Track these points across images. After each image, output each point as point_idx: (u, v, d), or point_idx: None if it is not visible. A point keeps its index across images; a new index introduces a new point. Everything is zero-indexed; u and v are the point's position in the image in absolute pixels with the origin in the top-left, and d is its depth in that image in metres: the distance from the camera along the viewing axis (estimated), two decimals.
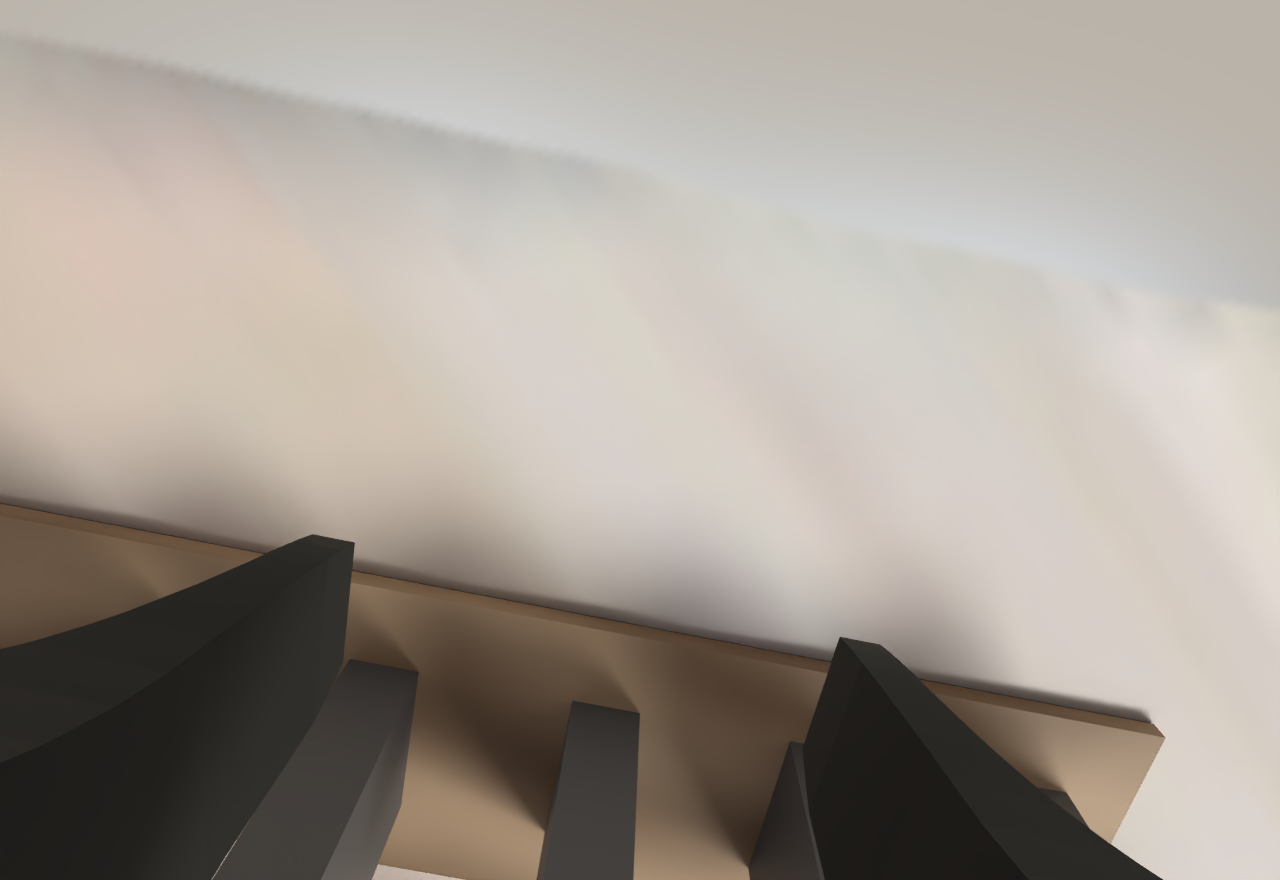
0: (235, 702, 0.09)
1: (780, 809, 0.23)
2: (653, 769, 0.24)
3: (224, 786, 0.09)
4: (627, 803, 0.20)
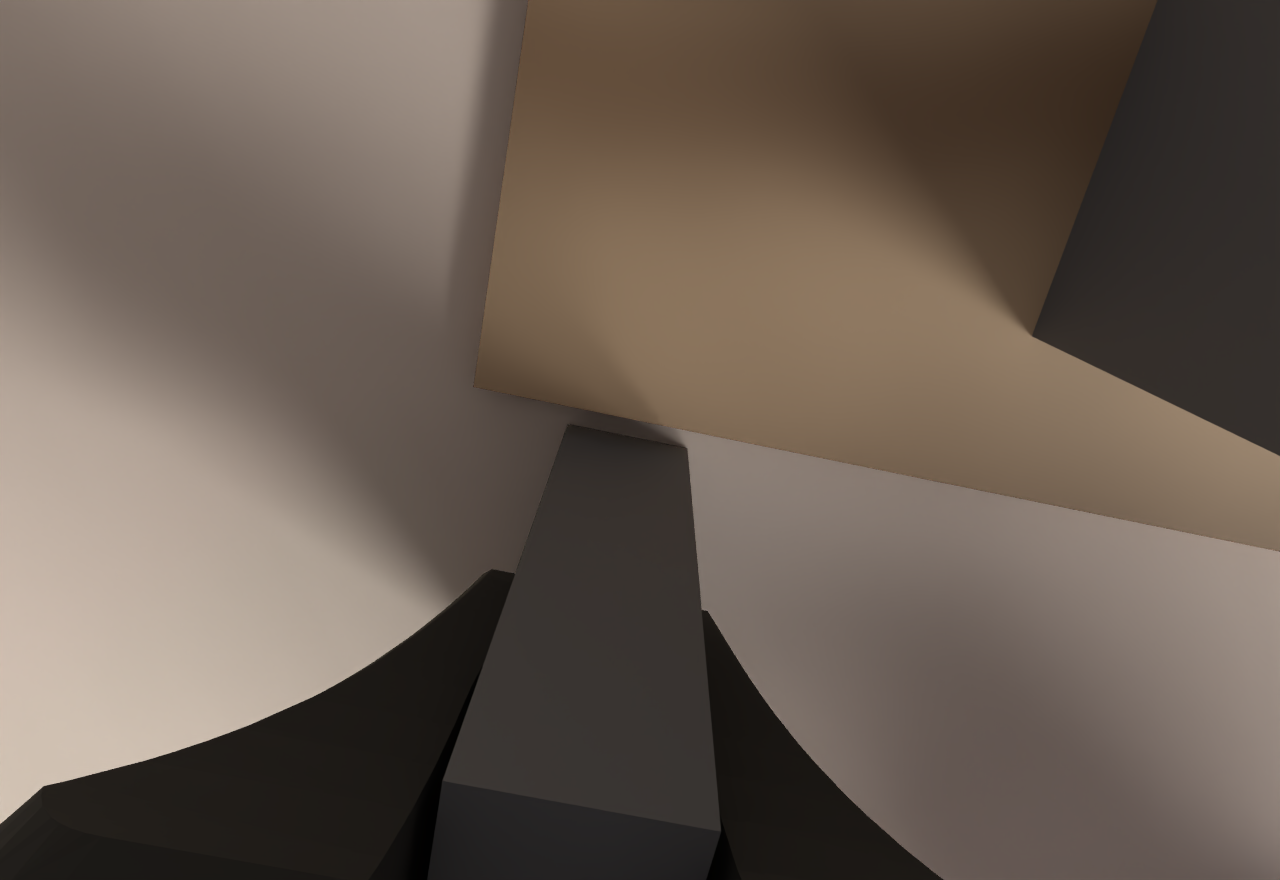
0: None
1: None
2: None
3: None
4: None
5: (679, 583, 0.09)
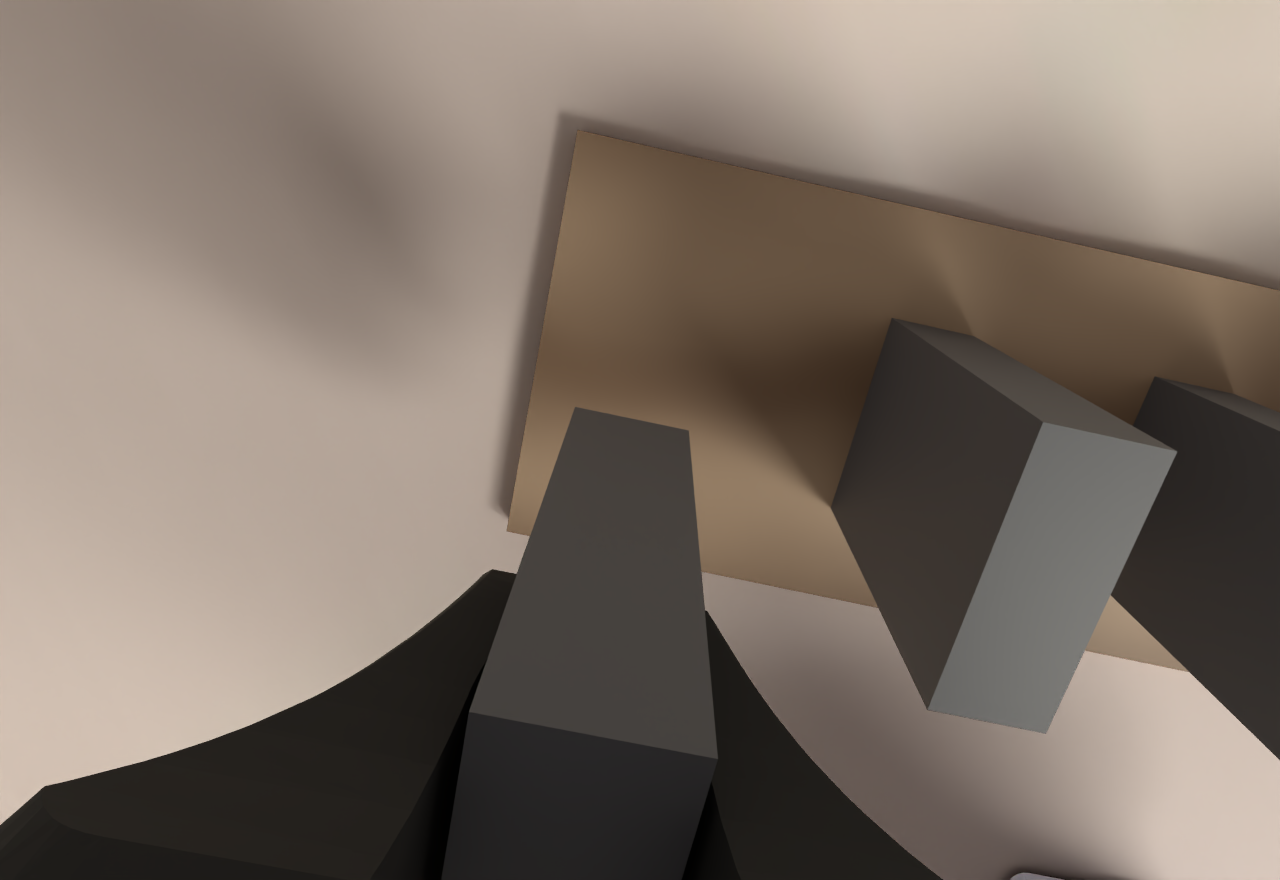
0: None
1: None
2: None
3: None
4: None
5: (681, 550, 0.10)
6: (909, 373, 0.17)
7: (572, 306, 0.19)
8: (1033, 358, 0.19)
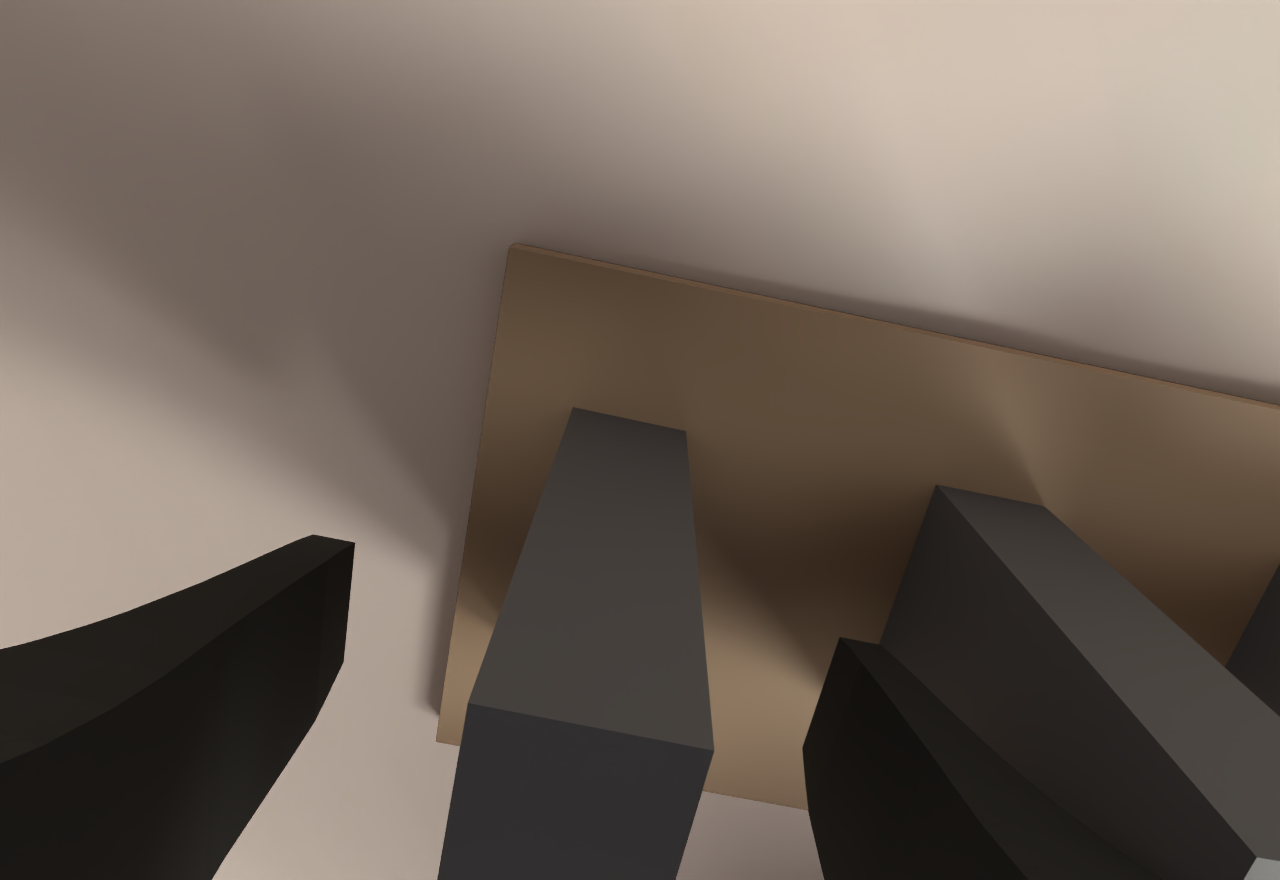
0: (235, 702, 0.09)
1: None
2: None
3: (225, 786, 0.09)
4: None
5: (678, 548, 0.10)
6: (970, 587, 0.12)
7: (510, 470, 0.14)
8: (1123, 533, 0.14)
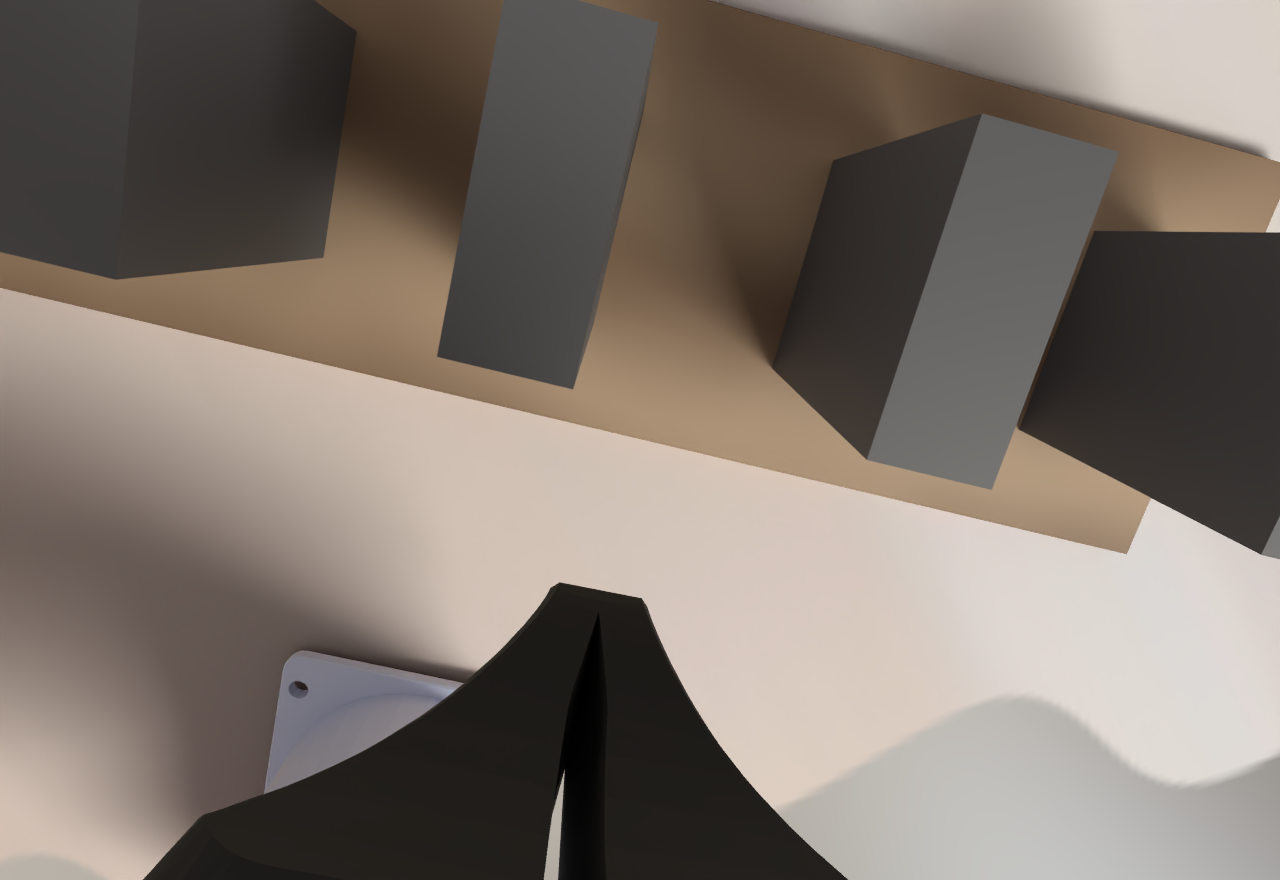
0: None
1: (822, 231, 0.18)
2: (657, 203, 0.19)
3: None
4: None
5: None
6: None
7: None
8: None
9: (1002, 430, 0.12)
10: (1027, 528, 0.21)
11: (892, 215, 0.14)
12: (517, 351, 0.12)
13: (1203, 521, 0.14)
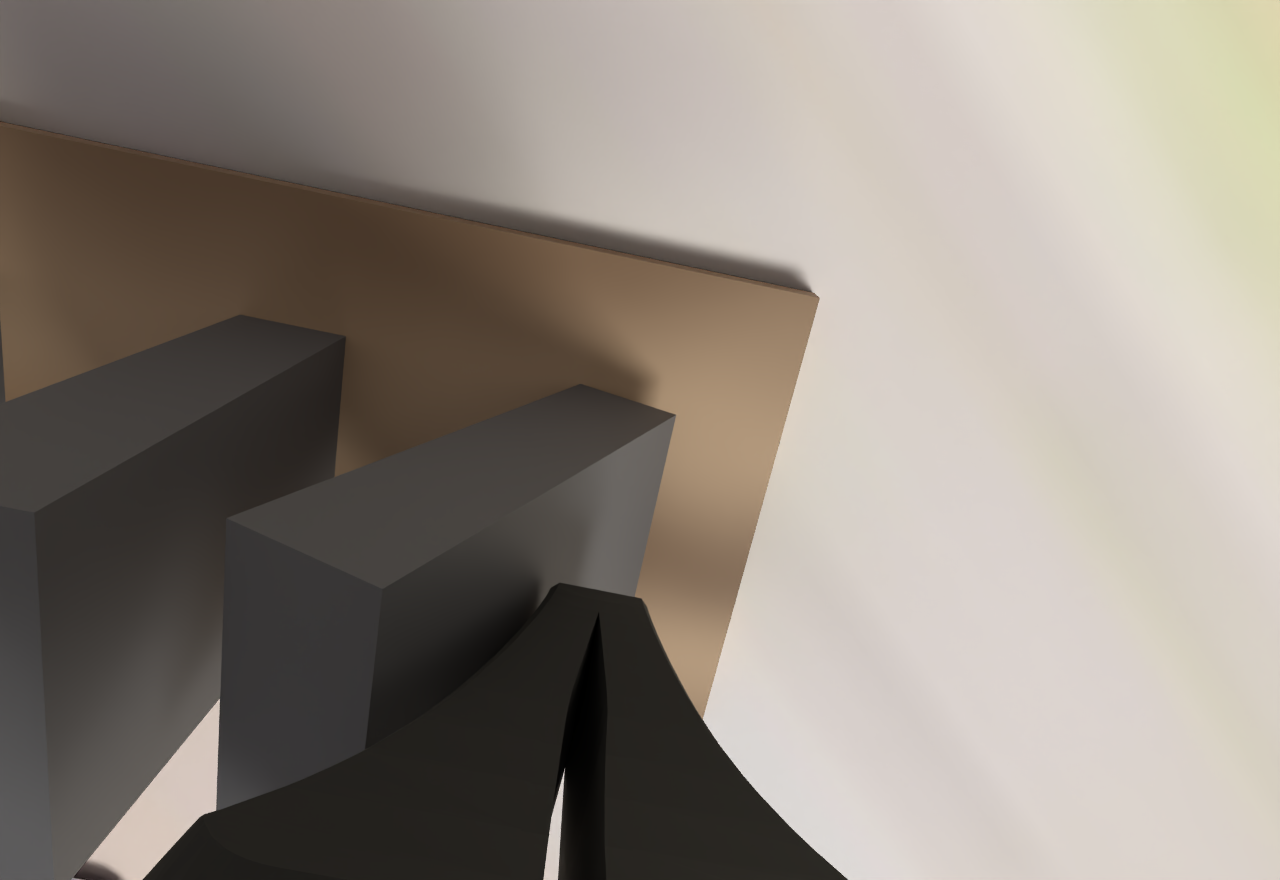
0: None
1: None
2: (45, 372, 0.16)
3: None
4: None
5: None
6: None
7: None
8: None
9: (36, 836, 0.09)
10: None
11: None
12: None
13: None
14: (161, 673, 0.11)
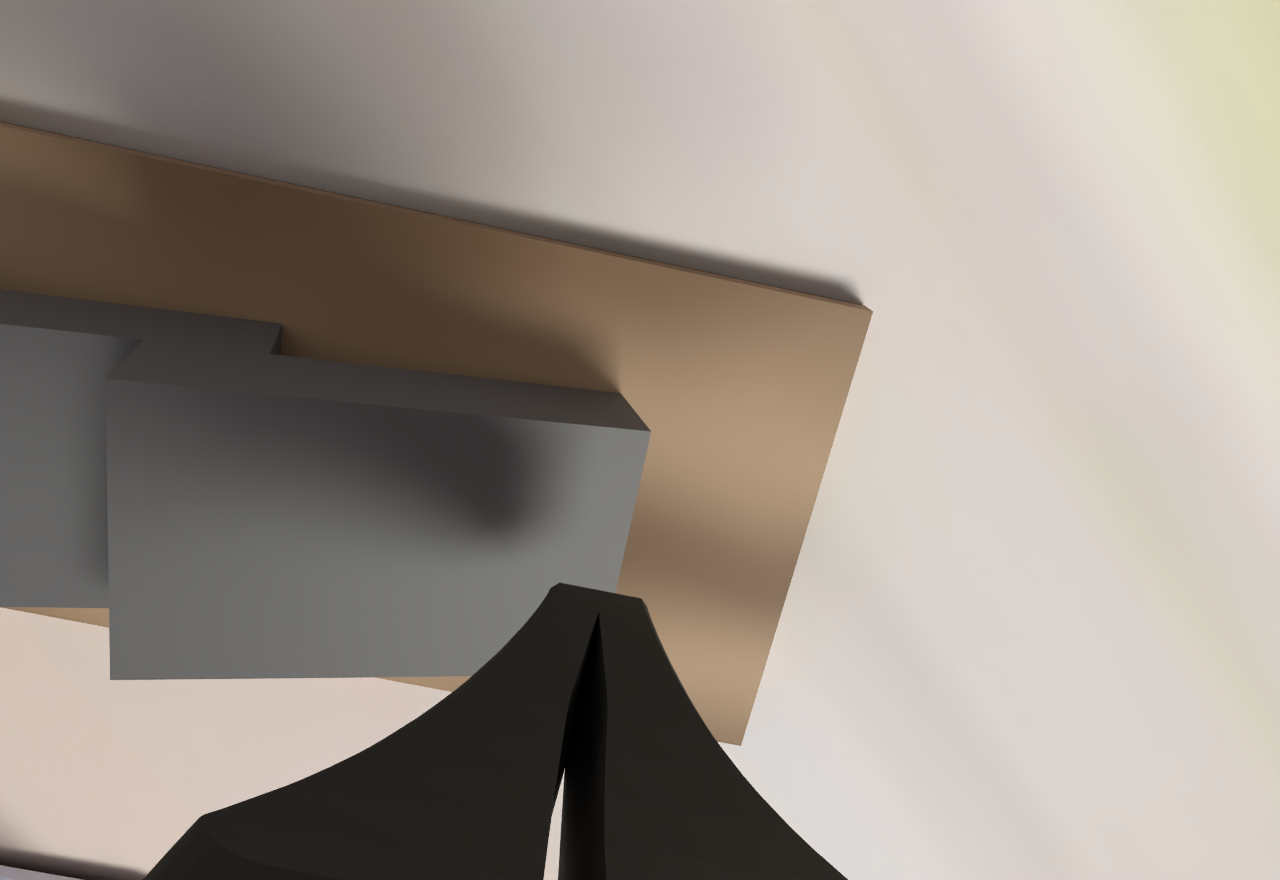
0: None
1: None
2: None
3: None
4: None
5: None
6: None
7: None
8: None
9: None
10: None
11: None
12: None
13: None
14: None
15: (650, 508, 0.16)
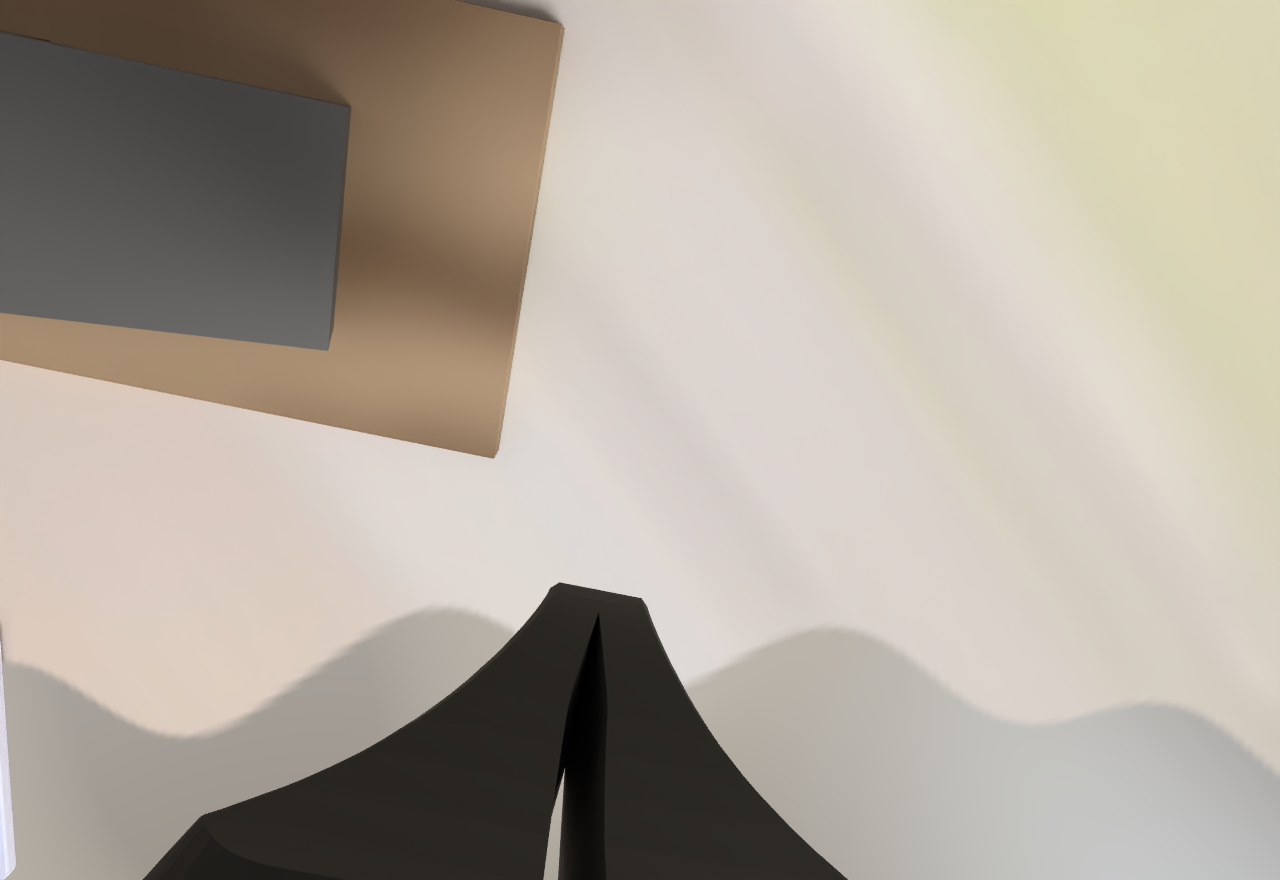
0: None
1: None
2: None
3: None
4: None
5: None
6: None
7: None
8: None
9: None
10: (381, 434, 0.20)
11: None
12: None
13: None
14: None
15: (388, 219, 0.18)
